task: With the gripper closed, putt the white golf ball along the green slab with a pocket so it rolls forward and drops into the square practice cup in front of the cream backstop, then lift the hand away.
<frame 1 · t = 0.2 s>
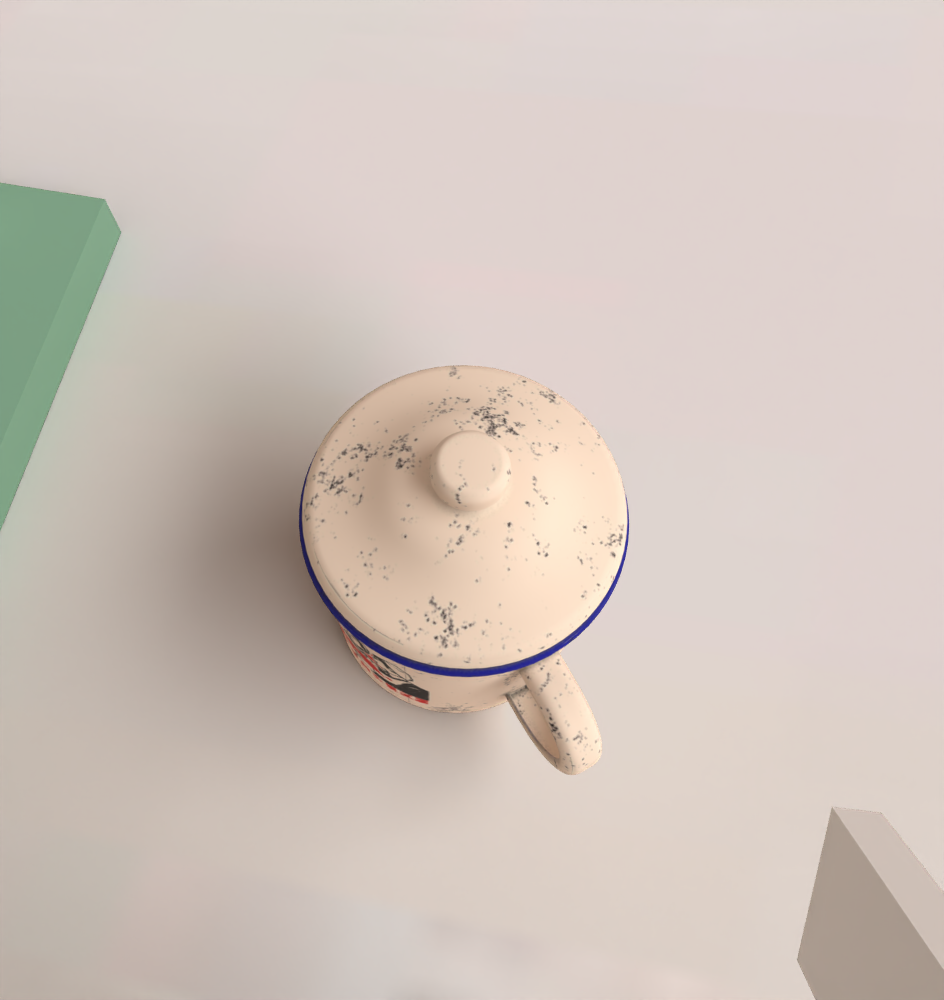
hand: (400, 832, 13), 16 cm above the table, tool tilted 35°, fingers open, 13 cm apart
teacup with lid: (474, 631, 30), on the table
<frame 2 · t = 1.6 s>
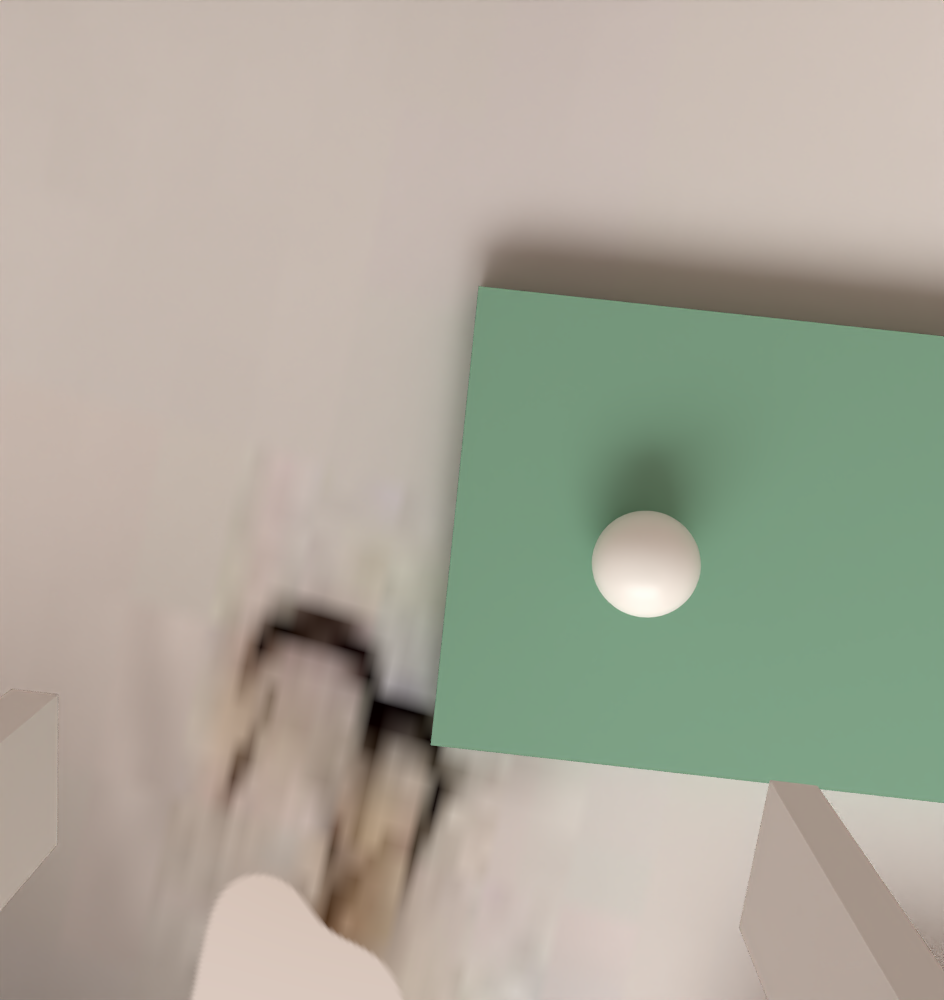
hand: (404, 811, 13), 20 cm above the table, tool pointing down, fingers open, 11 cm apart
ball: (645, 563, 29), point 4 cm above the table, touching green slab with pocket
green slab with pocket: (876, 563, 33), on the table
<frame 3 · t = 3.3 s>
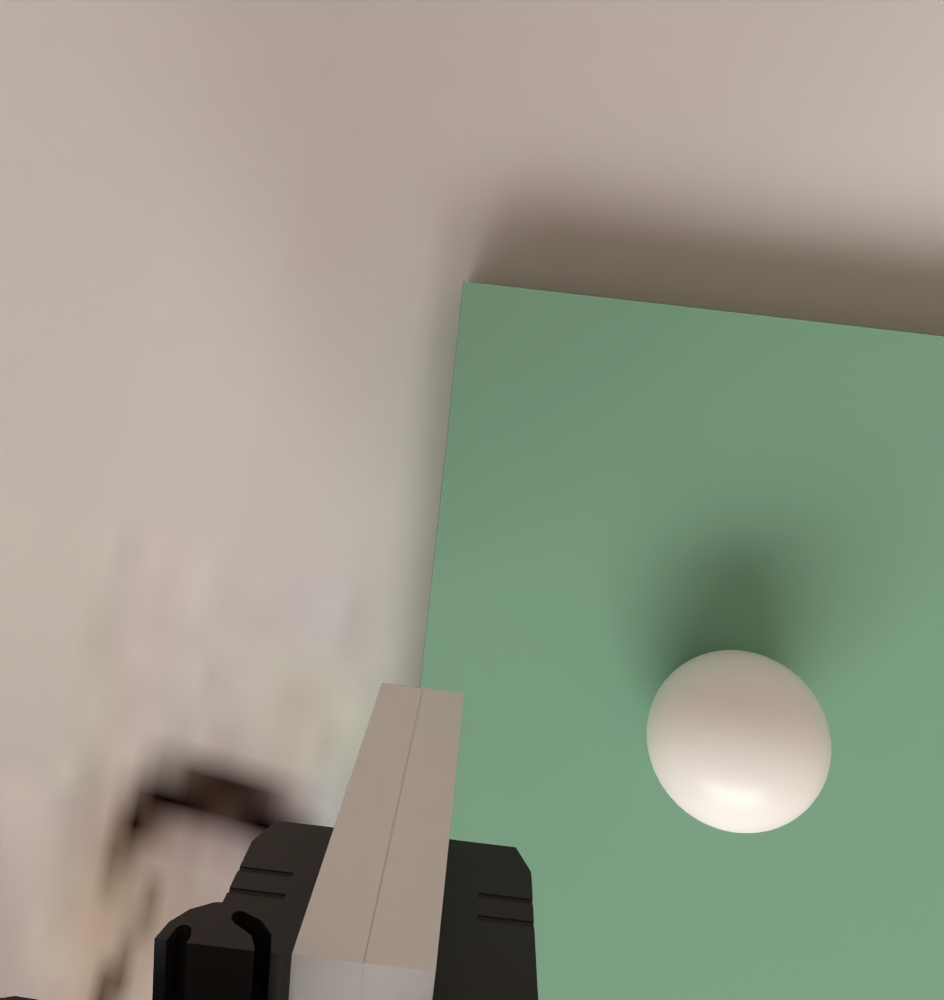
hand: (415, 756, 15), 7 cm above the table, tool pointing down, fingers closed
ball: (735, 738, 18), point 4 cm above the table, touching green slab with pocket
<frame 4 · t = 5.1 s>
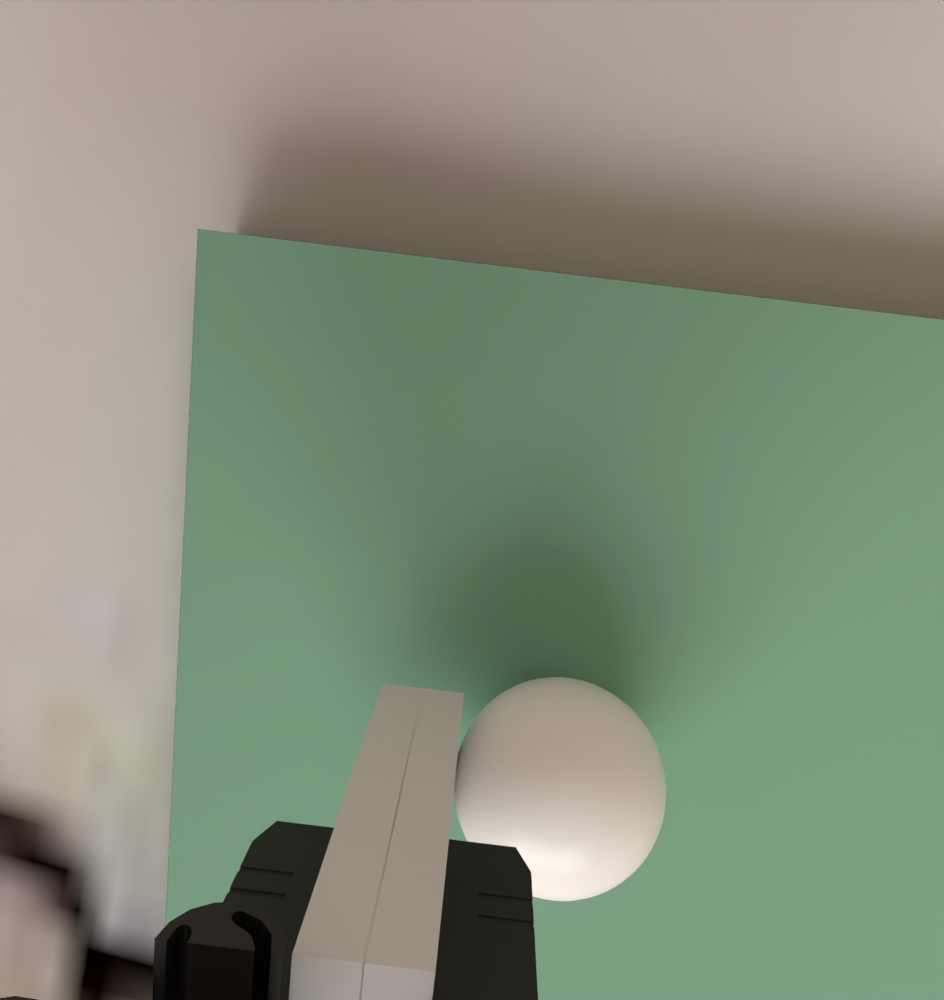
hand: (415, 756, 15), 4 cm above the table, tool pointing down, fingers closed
ball: (558, 784, 15), point 4 cm above the table, tilted 19°, touching green slab with pocket
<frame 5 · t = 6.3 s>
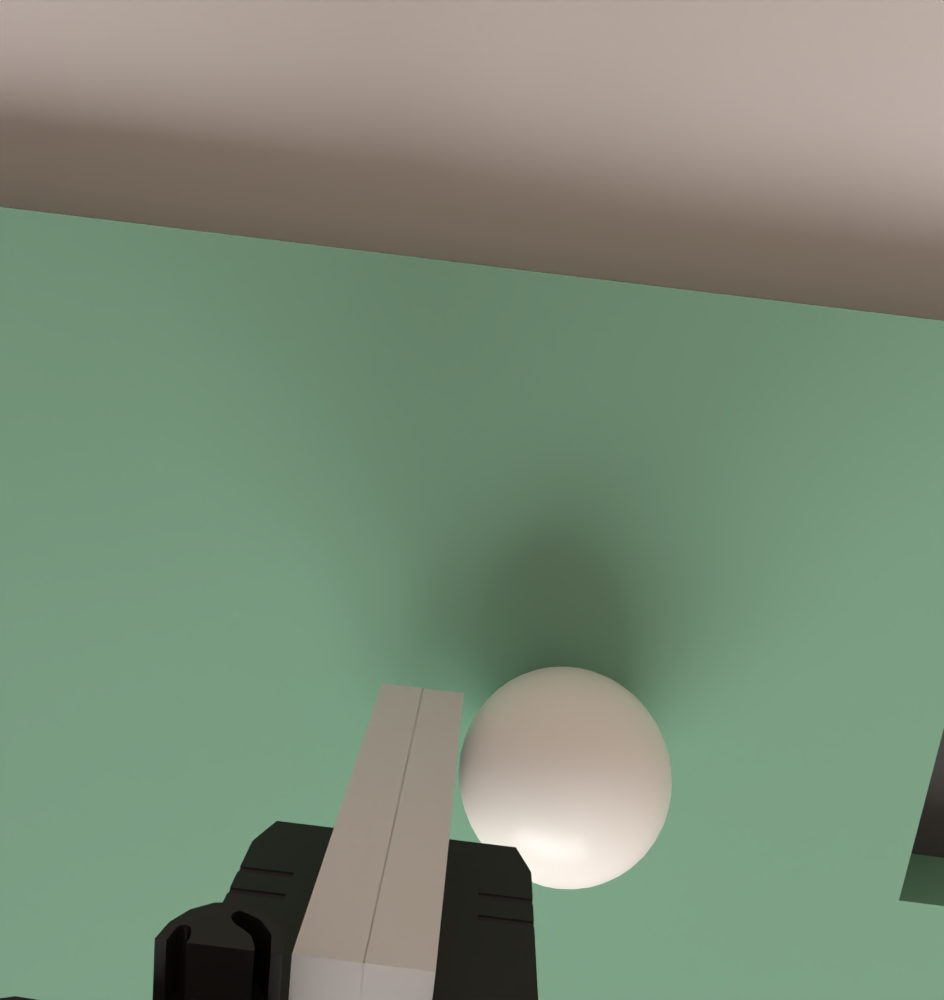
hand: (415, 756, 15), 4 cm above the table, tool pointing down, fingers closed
ball: (563, 773, 15), point 4 cm above the table, tilted 76°, touching green slab with pocket
green slab with pocket: (570, 694, 19), on the table
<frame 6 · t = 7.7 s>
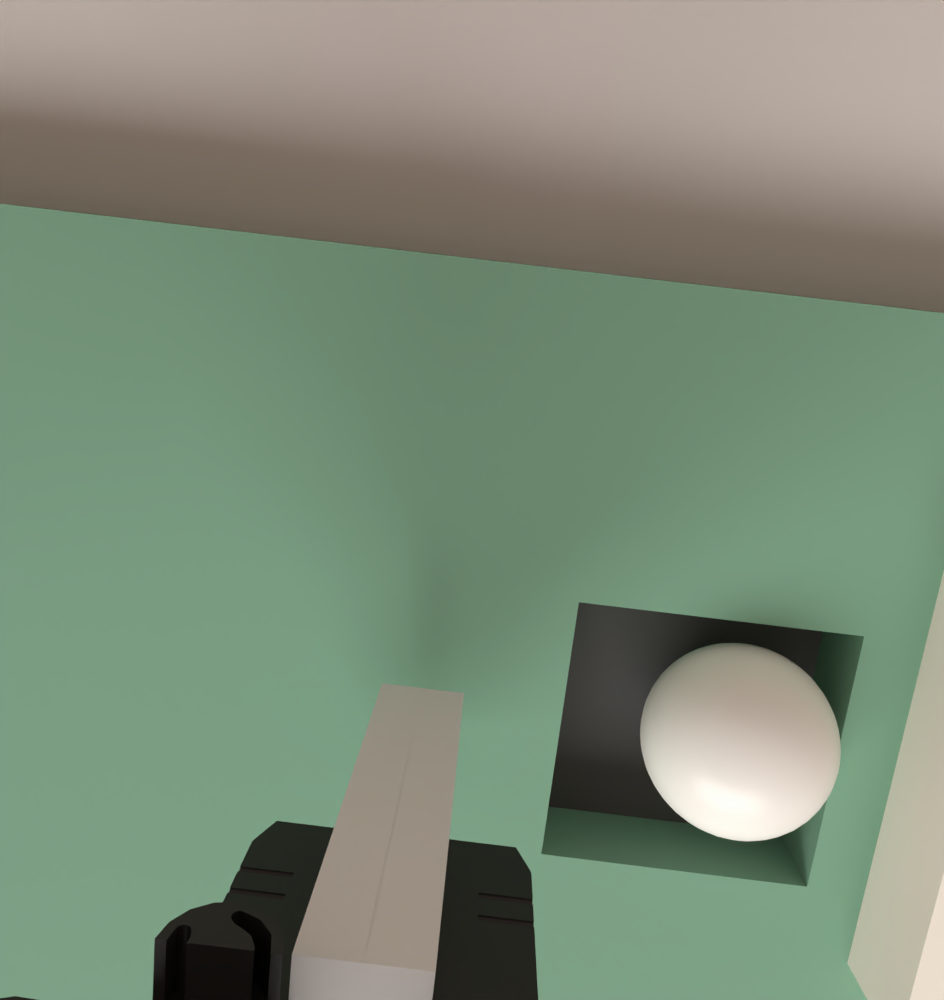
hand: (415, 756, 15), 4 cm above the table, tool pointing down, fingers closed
ball: (736, 738, 16), point 2 cm above the table, tilted 79°, touching green slab with pocket
green slab with pocket: (238, 651, 19), on the table
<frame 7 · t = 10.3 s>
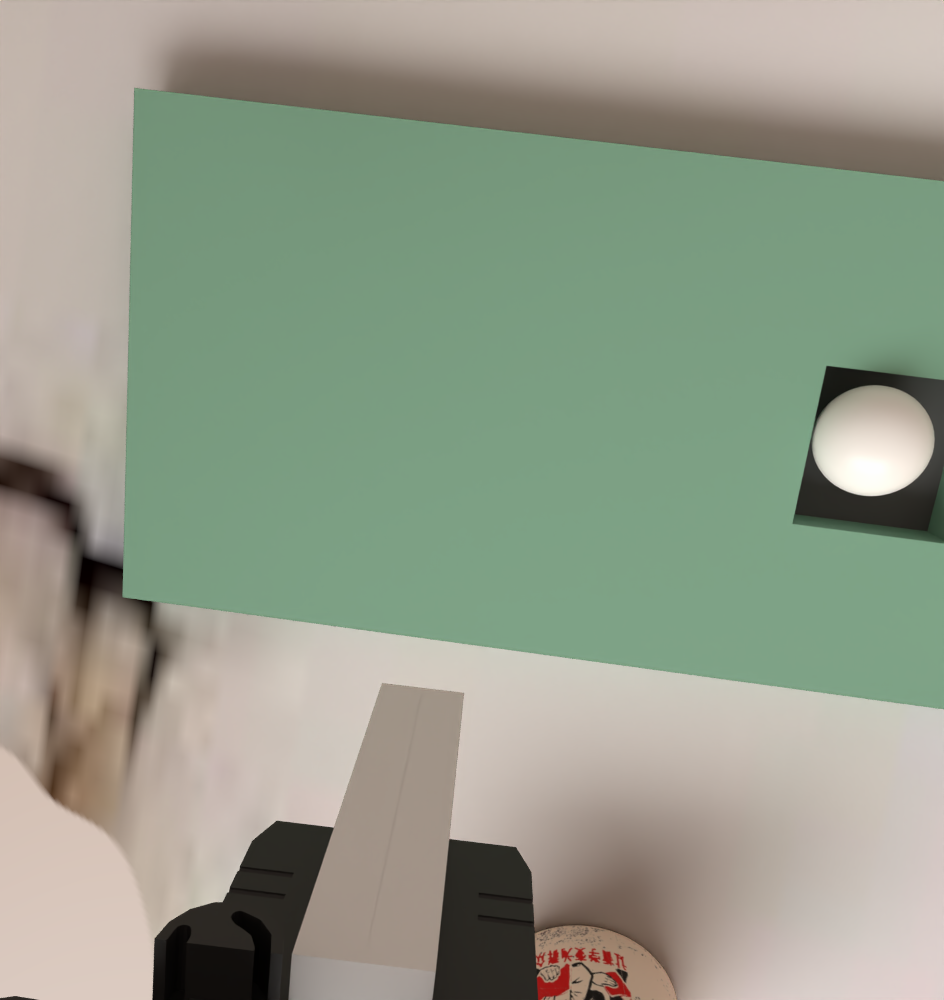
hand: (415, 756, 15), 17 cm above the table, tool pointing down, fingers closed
ball: (871, 440, 28), point 2 cm above the table, tilted 124°, touching green slab with pocket
green slab with pocket: (597, 413, 31), on the table
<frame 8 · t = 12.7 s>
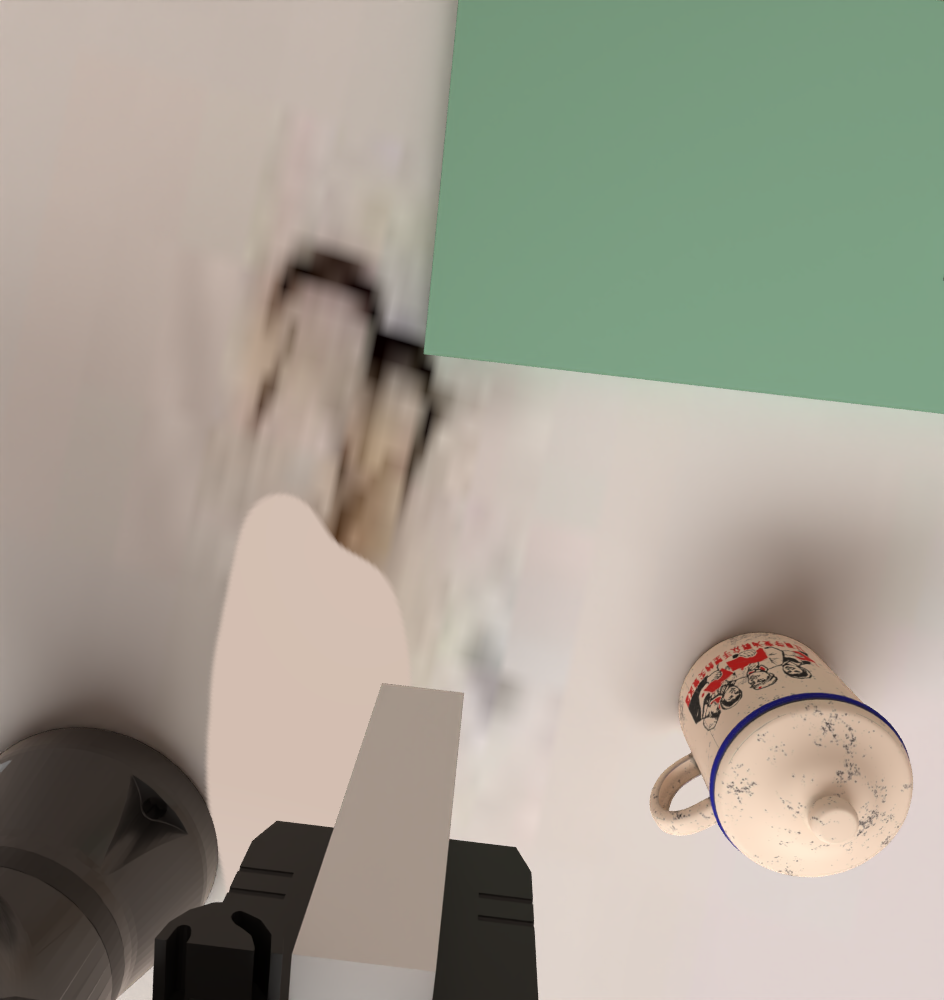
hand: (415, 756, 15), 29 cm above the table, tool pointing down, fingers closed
teacup with lid: (730, 712, 46), on the table
green slab with pocket: (788, 207, 40), on the table
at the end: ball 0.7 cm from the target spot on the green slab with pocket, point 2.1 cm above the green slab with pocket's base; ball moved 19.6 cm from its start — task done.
